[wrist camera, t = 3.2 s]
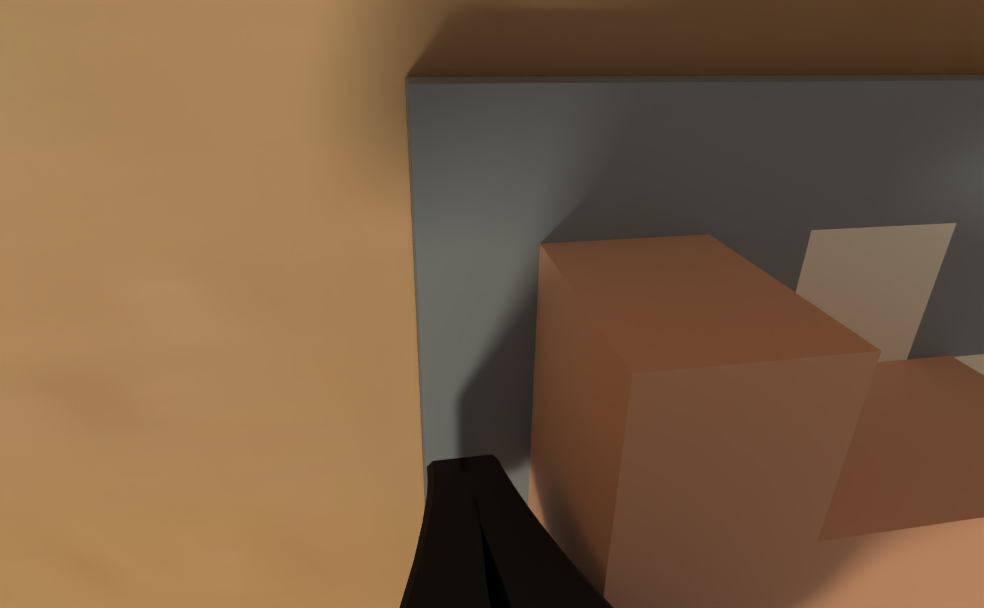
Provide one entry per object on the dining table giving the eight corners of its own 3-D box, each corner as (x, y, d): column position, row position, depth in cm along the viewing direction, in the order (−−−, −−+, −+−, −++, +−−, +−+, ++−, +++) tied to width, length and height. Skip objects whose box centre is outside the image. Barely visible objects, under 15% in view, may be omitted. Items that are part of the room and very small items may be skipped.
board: (949, 652, 20) (976, 681, 19) (436, 747, 17) (439, 786, 16) (1255, 73, 12) (1325, 78, 11) (405, 77, 9) (408, 84, 9)
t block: (522, 613, 14) (574, 820, 10) (540, 243, 10) (633, 374, 6) (870, 559, 15) (1018, 724, 12) (1004, 218, 11) (1287, 313, 8)
